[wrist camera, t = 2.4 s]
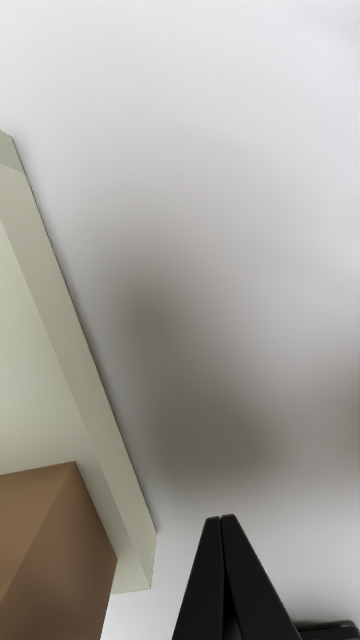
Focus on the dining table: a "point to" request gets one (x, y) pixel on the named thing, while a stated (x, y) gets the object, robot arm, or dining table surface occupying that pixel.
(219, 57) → the dining table surface
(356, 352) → the dining table surface
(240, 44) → the dining table surface
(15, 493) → the block
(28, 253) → the trap tray
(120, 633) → the dining table surface
